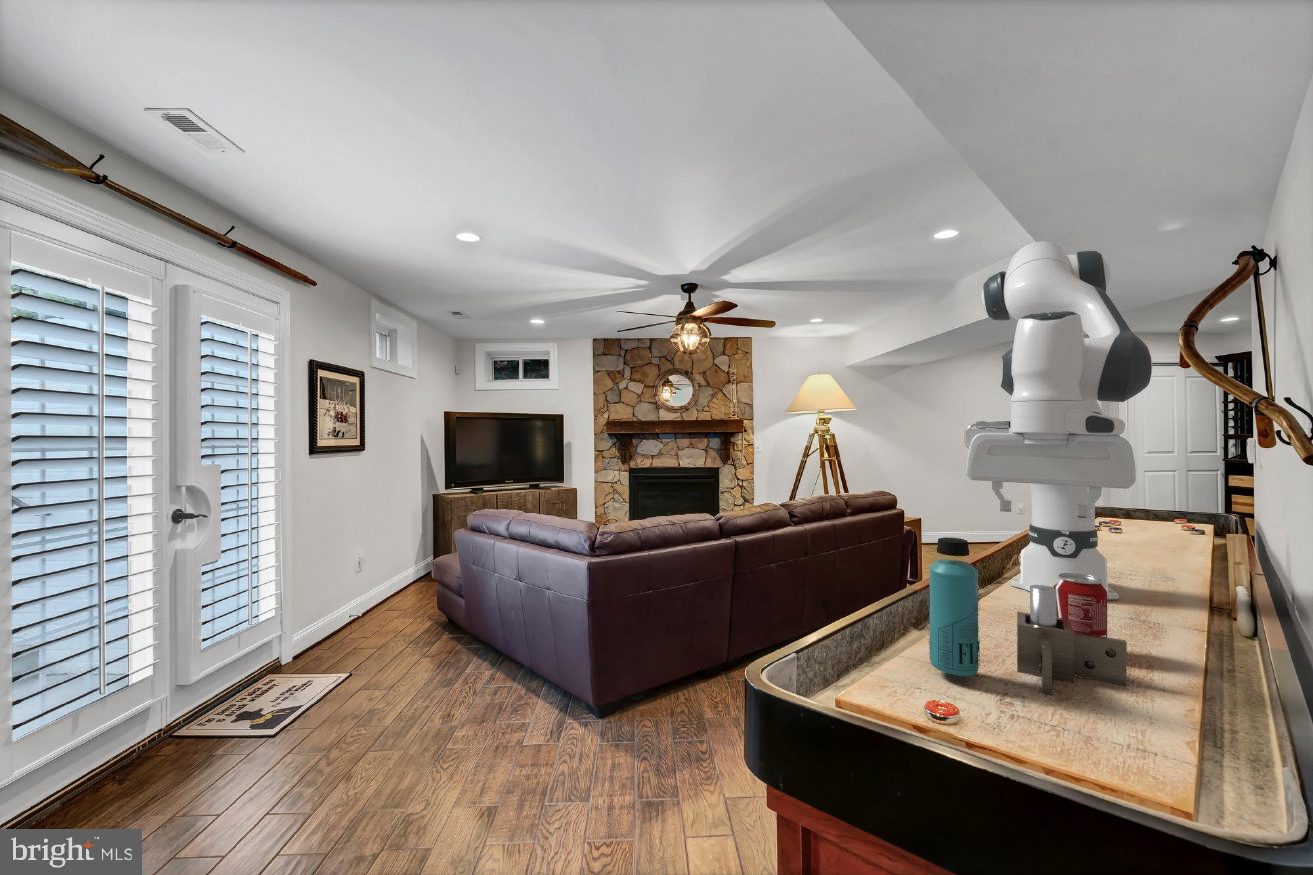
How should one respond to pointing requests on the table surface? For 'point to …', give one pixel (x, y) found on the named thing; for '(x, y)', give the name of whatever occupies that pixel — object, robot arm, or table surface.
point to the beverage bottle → (954, 611)
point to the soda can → (1082, 603)
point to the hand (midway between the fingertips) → (1043, 514)
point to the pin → (1043, 606)
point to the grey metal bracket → (1068, 654)
